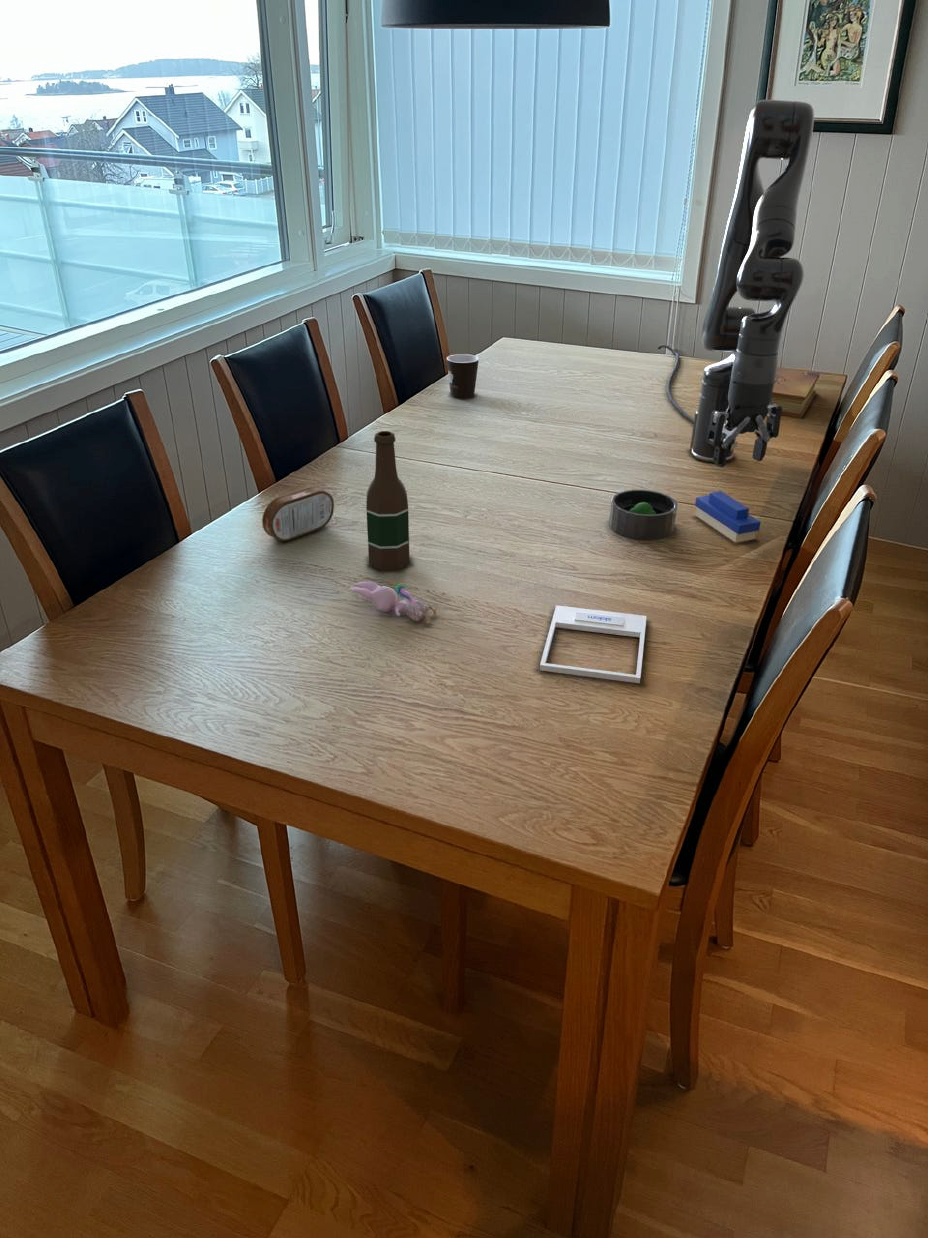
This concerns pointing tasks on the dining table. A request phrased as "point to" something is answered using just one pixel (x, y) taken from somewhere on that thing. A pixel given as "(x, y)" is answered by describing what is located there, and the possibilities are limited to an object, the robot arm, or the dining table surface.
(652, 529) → the bowl
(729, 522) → the brush
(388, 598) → the rabbit figure
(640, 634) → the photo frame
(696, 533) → the dining table surface
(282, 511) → the tin
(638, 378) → the dining table surface
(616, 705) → the dining table surface
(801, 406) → the diary
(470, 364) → the coffee mug
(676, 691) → the dining table surface
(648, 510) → the broccoli floret
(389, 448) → the beer bottle
